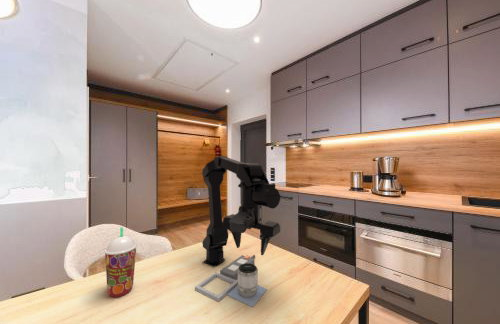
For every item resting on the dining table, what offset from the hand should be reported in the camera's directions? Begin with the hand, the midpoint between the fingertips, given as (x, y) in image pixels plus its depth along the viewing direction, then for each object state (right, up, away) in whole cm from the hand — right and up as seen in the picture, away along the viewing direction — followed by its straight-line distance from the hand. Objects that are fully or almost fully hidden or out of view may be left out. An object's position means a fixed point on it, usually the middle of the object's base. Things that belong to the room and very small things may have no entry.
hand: (249, 251), depth 63 cm
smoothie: (-41, -12, -1) cm, 42 cm away
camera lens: (-1, -12, -1) cm, 12 cm away
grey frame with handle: (-6, -12, +9) cm, 17 cm away
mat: (-1, -12, -1) cm, 12 cm away
